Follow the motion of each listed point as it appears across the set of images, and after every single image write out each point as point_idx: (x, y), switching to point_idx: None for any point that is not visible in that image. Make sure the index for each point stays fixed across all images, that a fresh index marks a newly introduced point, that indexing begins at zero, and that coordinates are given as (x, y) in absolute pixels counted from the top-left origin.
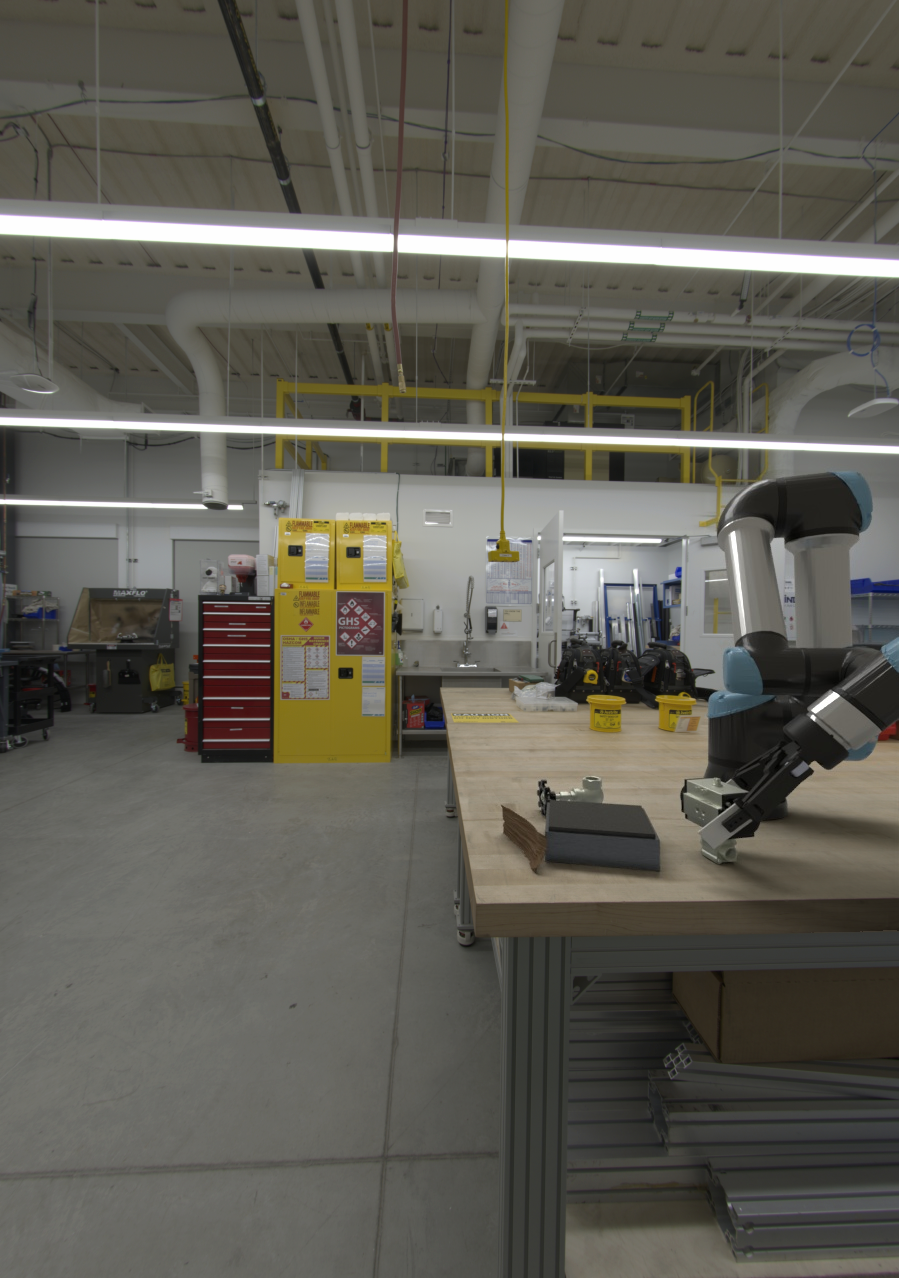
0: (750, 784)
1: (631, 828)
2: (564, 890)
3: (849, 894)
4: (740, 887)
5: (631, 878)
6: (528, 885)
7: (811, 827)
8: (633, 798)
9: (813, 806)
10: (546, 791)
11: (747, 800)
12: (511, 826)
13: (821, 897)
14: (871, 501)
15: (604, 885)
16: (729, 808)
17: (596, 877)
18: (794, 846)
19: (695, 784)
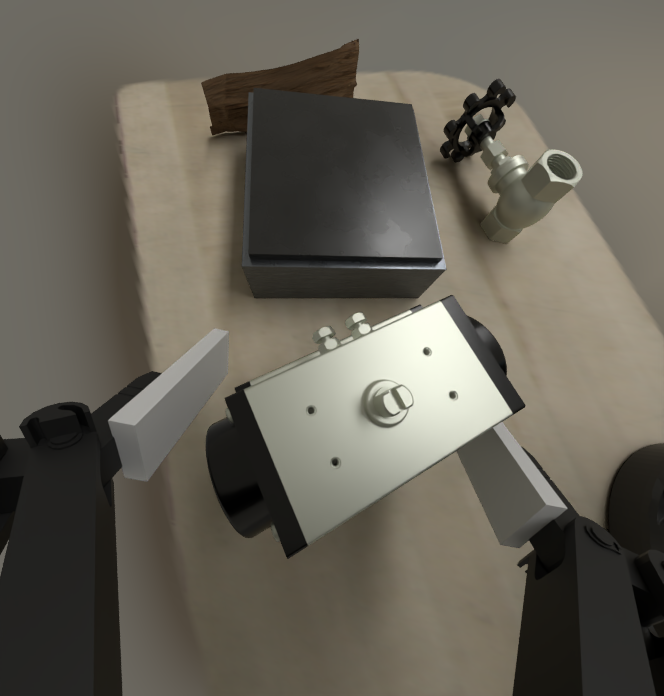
0: (533, 594)
1: (275, 214)
2: (162, 164)
3: (211, 663)
4: (211, 422)
5: (218, 252)
6: (172, 127)
7: None
8: (618, 308)
9: None
10: (464, 105)
11: (25, 471)
12: (331, 89)
13: (187, 583)
14: None
15: (186, 213)
16: (142, 397)
17: (213, 206)
18: (468, 616)
19: (394, 321)
